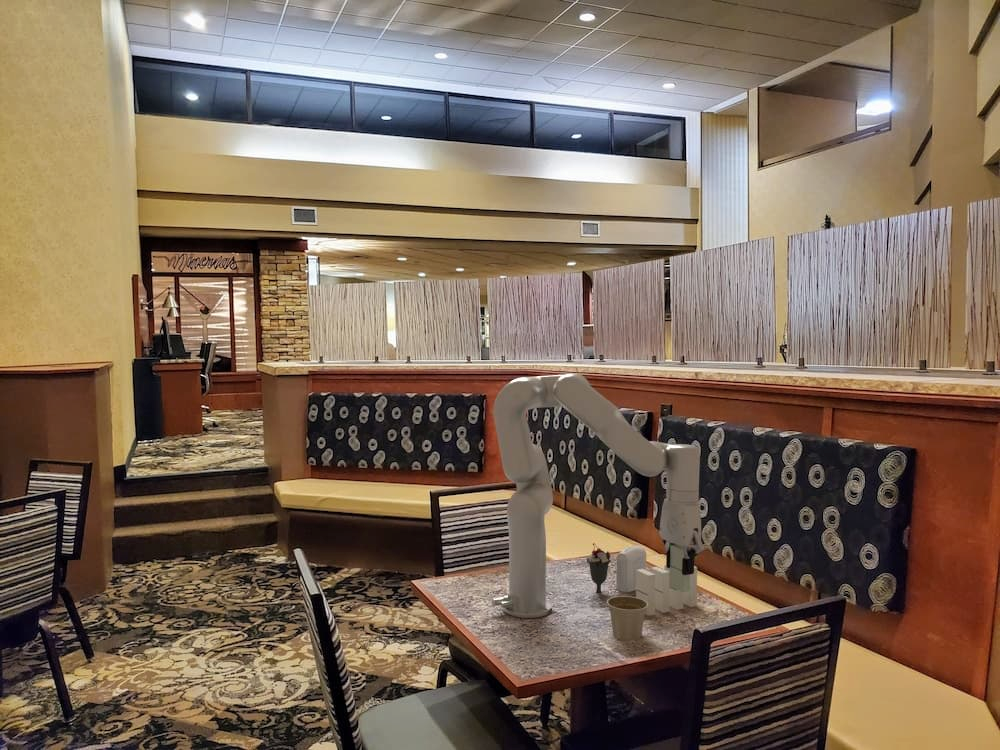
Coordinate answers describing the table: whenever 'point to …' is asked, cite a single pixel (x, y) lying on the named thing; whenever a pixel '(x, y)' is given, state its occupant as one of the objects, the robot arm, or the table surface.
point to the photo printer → (629, 567)
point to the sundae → (599, 567)
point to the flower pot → (627, 616)
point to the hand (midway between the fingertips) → (679, 569)
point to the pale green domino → (678, 570)
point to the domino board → (672, 611)
